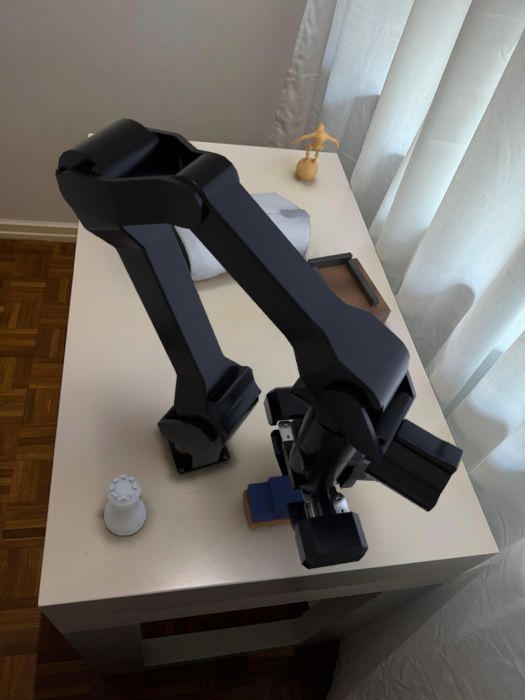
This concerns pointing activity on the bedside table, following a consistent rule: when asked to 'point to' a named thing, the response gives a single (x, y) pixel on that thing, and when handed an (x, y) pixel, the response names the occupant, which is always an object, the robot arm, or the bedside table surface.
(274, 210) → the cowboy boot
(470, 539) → the bedside table surface
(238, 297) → the bedside table surface
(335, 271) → the brown piece
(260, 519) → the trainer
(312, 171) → the figurine
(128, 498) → the rook chess piece
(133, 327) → the bedside table surface
